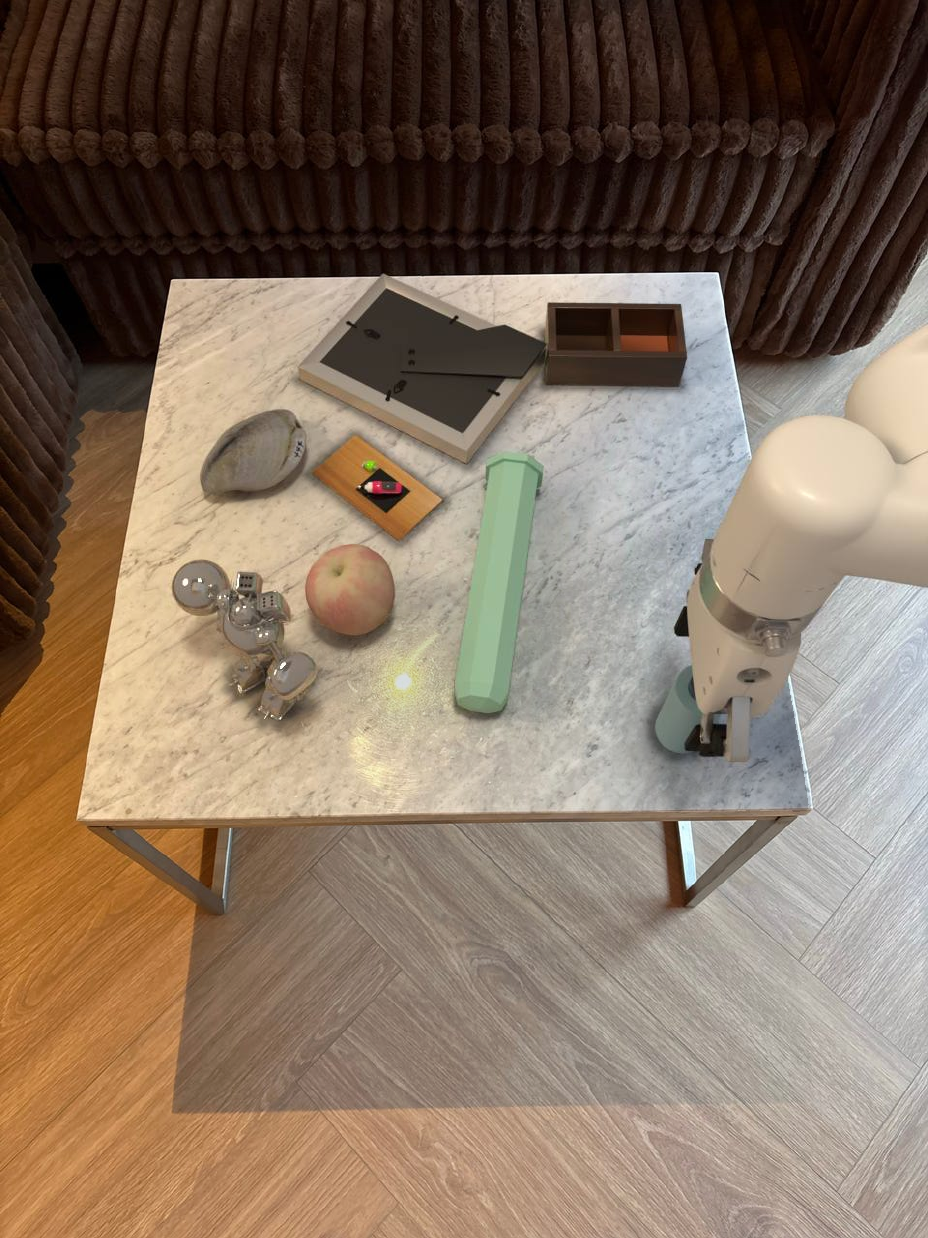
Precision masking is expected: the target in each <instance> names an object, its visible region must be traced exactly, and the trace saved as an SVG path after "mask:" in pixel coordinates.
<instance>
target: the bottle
mask: <svg viewBox="0 0 928 1238" xmlns="http://www.w3.org/2000/svg"><path fill="white" fill-rule="evenodd" d="M702 713H703V712H701V711H700V709H699V708H698V706H697V702H696V696H695V688H694V679H693V670H692V664H691V665H689V666H686V667H684V668H683V669H682V670H681V671H680V672H679V673H678V675H677V676H676V678H675V681H674V683H673V684H672V687H671V689H670V691H669V693H668V695H667V697H666V699H665V701H664V704H663V705H662V708H661V709H660V711H659V713H658V716H657V718H656V720H655V724H654V725H655V726H654V730H655V735H656V737H657V739H658V741H659V742H660V744H661V745H662V746H663V747H664V748H665V749H667V750H669V751H671V752H672V753H676V754H682V755H683V754H685V755H686V754H690V753H694V752H695V751H686V750H685V746H684V743H685V741H686V739H687V738H688V736H689V735H690V733H691V732H692V730H693V729H694V727H695V725H697V724H701V720H702ZM722 715H723V714H714V721H713V724H718V721H719V719H720V718H721V717H722Z"/></svg>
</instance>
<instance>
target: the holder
mask: <svg viewBox="0 0 928 1238" xmlns="http://www.w3.org/2000/svg"><path fill="white" fill-rule="evenodd" d="M684 325H685V324H684V315H683V308H682V303H648V302H647V303H646V302H645V303H642V302H641V303H640V302H638V303H636V302H633V303H630V302H558V301H557V302H556V301H555V302H554V301H552V302H551V301H549V302H547V304H546V313H545V324H544V342H545V343H547V344H546V346H545V347H544V348H546V354H545V362H544V365H545V366H544V367H545V369H544V370H545V386H593V387H594V386H599V387H600V386H601V387H607V386H608V387H670V388H672V387H674V388H676V387H678V388H679V387H680V384H681V381H682V378H683V374H684V372H685V368H686V364H687V360H688V352H687V343H686V334H685V326H684Z"/></svg>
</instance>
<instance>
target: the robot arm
mask: <svg viewBox="0 0 928 1238" xmlns="http://www.w3.org/2000/svg"><path fill="white" fill-rule="evenodd" d="M845 398H846V399H845V403H844V418H842V417H840V416H836V415H829V414H810V415H803V416H798V417H795V418H791V419H789V420H787V421H785V422H783V423H780V425H778V426H777V427H775V428H773V429H772V430H771V431H770V432H769V433H767V435H766V436H764V438H763V439H762V440H761V441H760V443H759V444H758V446H757V448H756V450H755V451H754V453H753V455H752V457H751V459H750V460H749V463H748V464H747V467H746V469H745V471H744V473H743V475H742V478H741V480H740V482H739V484H738V487H737V489H736V491H735V492H734V495H733V497H732V500H731V502H730V503H729V506H728V508H727V510H726V513H725V514H724V516H723V519H722V521H721V522H720V525H719V528H718V530H717V532H716V533H715V536H714V538H705V539H704V542H703V547H702V552H701V557H700V560H701V562H698V563H697V564H696V566H695V567H694V572H693V573H694V575H695V576H694V578H693V579H692V582H691V585H690V588H689V589H688V590H687V592H686V605H684V606H683V607H682V609H681V611H680V613H679V615H678V618H677V619H676V622H675V624H674V626H673V633H674V635H675V636H676V637H678V638H679V637H680V638H681V637H682V638H684V637H685V638H689V648H690V650H689V651H690V658H691V659H690V660H691V665H692V670H693V679H694V688H695V696H696V702H697V706H698V708H699V709H700V711H701V712H703V713H702V720H701V724H697V725H695V727H694V729H693V730H692V732H691V733H690V735H689V736H688V738H687V739H686V741H685V743H684V746H685V750H686V751H694V752H698V756H699V757H703V758H722V759H723V760H724V761H726V762H728V763H748V762H749V760H750V737H751V736H750V733H751V718H755V717H756V718H758V717H763V715H765V714H766V713H767V712H768V711H769V709H770V708H771V707H772V706H773V704H774V703H775V702H776V700H777V698H778V697H779V695H780V693H781V691H782V690H783V688H784V686H785V684H786V682H787V680H788V679H789V677H790V675H791V672H792V670H793V669H794V665H795V663H796V661H797V658H798V655H799V652H800V647H801V644H802V633H803V631H805V630H806V629H807V627H808V626H809V625H810V623H811V622H812V621H813V619H814V618H815V617H816V616H817V614H818V613H819V611H820V610H821V608H823V606H824V604H825V603H826V602H827V601H828V599H829V598H830V597H831V595H832V593H833V592H835V590H836V588H837V587H838V586H839V584H840V583H841V582H842V580H843V579H844V578H845V577H846V576H847V577H848V576H849V577H857V578H864V579H872V580H878V581H885V582H891V583H896V584H900V585H901V584H902V585H907V586H913V587H920V588H924V589H925V588H926V589H928V323H926V324H924V325H923V326H921V327H920V328H918V329H916V330H915V331H913V332H911V333H910V334H908V335H907V336H905V337H903V338H902V339H899V341H897V342H896V343H894V344H893V345H891V346H890V347H888V348H887V349H886V350H885V351H883V352H882V353H881V354H880V355H878V356H877V357H876V358H874V359H873V360H872V361H871V362H870V363H869V364H868V365H866V367H864V369H863V370H862V371H861V372H860V373H859V374H858V376H857V377H856V378H855V380H854V381H853V383H852V385H851V386H850V389H849V390H848V392H847V395H846V397H845ZM714 714H722V715H726V723H716V724H713V721H714Z"/></svg>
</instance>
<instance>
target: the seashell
mask: <svg viewBox="0 0 928 1238" xmlns="http://www.w3.org/2000/svg"><path fill="white" fill-rule="evenodd" d="M307 439H308V436H307V433H306V431H305V429H304V427H303V425H302V424H301V423H300V420H299V419H298V418H297V416H296V414H295V413H294V412H293V411H291V410H290V409H284V408H281V409H280V408H277V409H272V410H266V411H262V412H260V413H259V412H258V413H257V414H254V415H251V416H250V417H247V418H245V419H243V420H240V421H238V422H237V423H235V424H233V425H232V426H230V427H229V428H227V429H226V430H225V431H224V432H223V433H222V434H221V435H220V437H219V438H218V439H217V440H216V442H215V443H214V445H213V446H212V447H211V449H210V451H209V452H208V453H207V454H206V457H205V458H204V460H203V463H202V466H201V469H200V473H199V474H200V475H199V481H200V486H201V489H202V491H203V492H205V493H207V494H210V495H213V496H219V495H221V494H223V493H227V492H229V491H235V490H236V491H237V490H239V491H242V492H257V491H263V490H267V489H270V488H272V487H274V486H276V485H278V484H280V483H281V482H282V481H283V480H285V479H286V478H287V477H288V476H289V475H290V474H291V473H293V472H294V471H295V469H296V468H297V466H298V465H299V463H300V462H301V460H302V458H303V456H304V452H305V450H306V443H307Z"/></svg>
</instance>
